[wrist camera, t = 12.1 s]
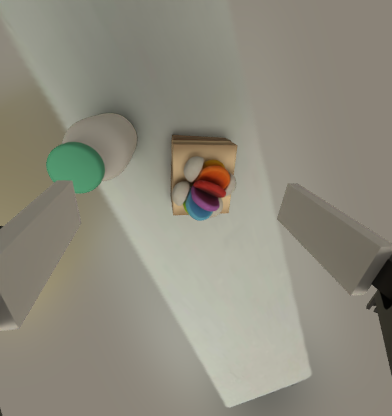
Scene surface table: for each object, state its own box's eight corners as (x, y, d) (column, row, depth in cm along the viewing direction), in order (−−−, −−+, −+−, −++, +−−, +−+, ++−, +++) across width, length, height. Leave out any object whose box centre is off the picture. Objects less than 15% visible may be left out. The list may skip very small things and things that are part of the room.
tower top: (171, 140, 34) (173, 144, 31) (229, 141, 36) (237, 145, 32) (171, 205, 40) (173, 215, 36) (222, 203, 41) (228, 213, 38)
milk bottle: (104, 101, 33) (46, 102, 16) (146, 133, 36) (136, 162, 19) (81, 141, 35) (7, 180, 18) (122, 167, 38) (94, 223, 21)
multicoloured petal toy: (237, 169, 34) (256, 184, 28) (208, 216, 37) (219, 240, 31) (192, 145, 31) (201, 156, 25) (165, 199, 35) (167, 221, 28)
